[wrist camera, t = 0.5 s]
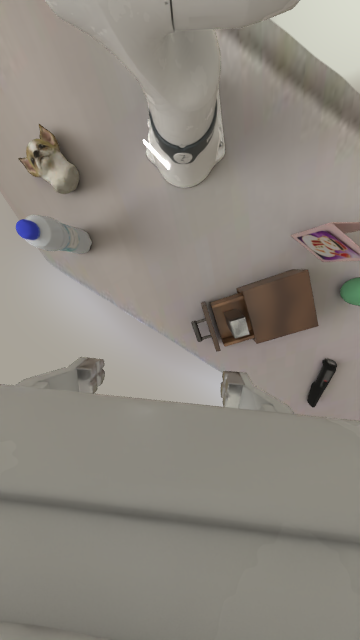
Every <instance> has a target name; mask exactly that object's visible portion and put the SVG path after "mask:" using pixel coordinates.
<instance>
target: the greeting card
mask: <svg viewBox="0 0 360 640" xmlns="http://www.w3.org/2000/svg"><path fill="white" fill-rule="evenodd" d="M359 230H360V222H333V223H328V224H325V225H322V226H319V227H316V228H312V229H309V230H306V231H303V232H300V233H297V234H294V235H291V236H292V237H293V238H294V239H295V240H297V241H298V242H299V243H300V244H302V245H303V246H304V247H305V248H306V249H308V250H309V251H310V252H311V253H313V254H314V255H315V256H316V257H317V258H319V259H320V260H321V261H322V262H336V261H360V247H359V246H358V245H357V244H356V243H355V242H353V241H352V240H351V239H350V238H349V237H348V236H346V235H345V233H350V232H355V231H359Z"/></svg>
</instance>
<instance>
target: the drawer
mask: <svg viewBox="0 0 360 640" xmlns="http://www.w3.org/2000/svg"><path fill="white" fill-rule="evenodd" d="M210 304H211V307H212V310H213V314H214V317H215V320H216V323H217V326H218V329H219V333H220V336H221V339H222V342H223V344H224V346H228V345H232V344H235V343H238V342H242V341H245V340H249V339H252V338H255V337H254V334H253V330H252V326H251V322H250V319H249V315H248V311H247V308H246V304H245V300H244V296H243V294H242V293H238V294H235V295H232V296H229V297H226V298H223V299H220V300H217V301H214V302H211V303H210ZM201 306H202V309H203V312H204V315H205V319H201V320H198V321H192V322H191V323H192V326H193V329H194V332H195V335H196V337H197V340H198V342H201V341H202V340H204V339H207V338H210V337H212V339H213V342H214V346H215V349H216V352H217V351H221V350H220V347H219V343H218V340H217V337H216V334H215V331H214V328H213V325H212V322H211V319H210V315H209V312H208V309H207V306H206V303H205V302H202V303H201ZM233 309H237V310H238V311H239V312H240V313H241V314H242V315H243V316H245V319H246V322H247V326H248V329H249V333H250V334H249V335H246V336H242V337H239V338H236V339H235V338H234V336H233V335H232V333H231V331H230V330H229V328H228V326H227V323H226V319H225V316H224V312H227V311H230V310H233ZM204 321H207V324H208V327H209V330H210V333H211V335H208V336H204V337H201V334H200V331H199V328H198V325H197V323H201V322H204Z"/></svg>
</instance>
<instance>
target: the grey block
mask: <svg viewBox="0 0 360 640" xmlns="http://www.w3.org/2000/svg"><path fill="white" fill-rule="evenodd" d="M224 316H225V319H226V323H227V326H228V328H229V330H230V331H231V333H232V335H233V336H234V338H235V339H236V338H239V337H242V336H246V335H249V334H250V333H249V329H248V326H247V322H246V319H245V316H243V315H242V314H241V313H240V312H239V311H238V310H237V309H233V310H230V311H227V312H224Z"/></svg>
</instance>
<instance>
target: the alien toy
mask: <svg viewBox="0 0 360 640" xmlns="http://www.w3.org/2000/svg"><path fill="white" fill-rule="evenodd" d="M340 295H341V297H342V298H343V299H344V301H346V302H348V303H350V304H353V305H358V306H360V277H358V278H354V279H351V280H349V281H347V282H346V283H344V284H343V286H342V287H341V290H340Z"/></svg>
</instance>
